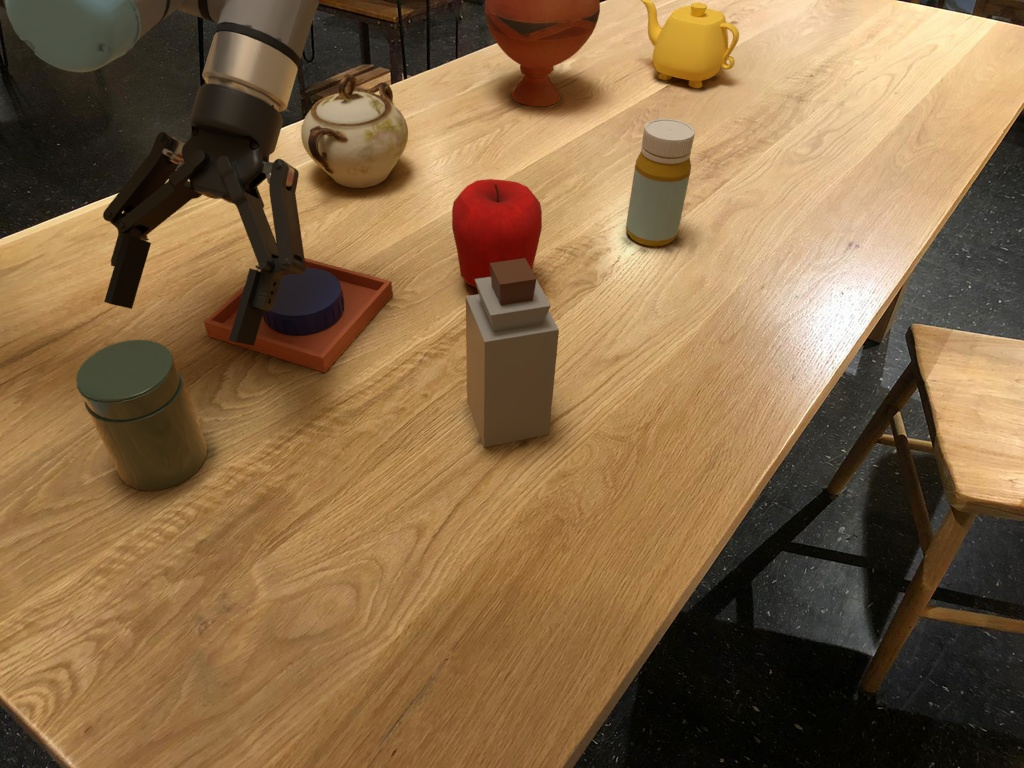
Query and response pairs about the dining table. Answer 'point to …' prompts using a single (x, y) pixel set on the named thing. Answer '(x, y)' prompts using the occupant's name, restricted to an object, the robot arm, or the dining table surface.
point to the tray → (319, 348)
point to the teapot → (691, 43)
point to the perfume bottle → (510, 355)
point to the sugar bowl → (355, 134)
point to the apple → (495, 226)
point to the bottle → (660, 182)
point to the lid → (306, 303)
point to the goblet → (540, 39)
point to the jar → (143, 414)
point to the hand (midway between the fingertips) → (178, 324)
